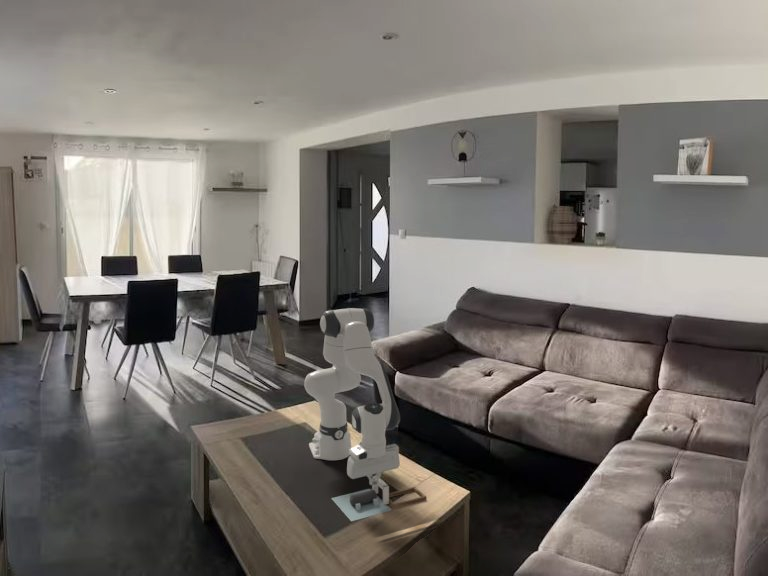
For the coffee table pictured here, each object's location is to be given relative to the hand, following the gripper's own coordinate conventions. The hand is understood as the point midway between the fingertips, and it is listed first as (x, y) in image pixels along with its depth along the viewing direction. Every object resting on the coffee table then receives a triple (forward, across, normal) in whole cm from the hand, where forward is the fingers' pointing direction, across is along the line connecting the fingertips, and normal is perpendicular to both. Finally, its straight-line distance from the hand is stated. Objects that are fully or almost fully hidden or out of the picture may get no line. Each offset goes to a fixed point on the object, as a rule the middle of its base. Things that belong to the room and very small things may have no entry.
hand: (373, 483), depth 218 cm
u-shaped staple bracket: (+6, -3, 0) cm, 7 cm away
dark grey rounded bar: (+6, +4, 0) cm, 8 cm away
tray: (+7, -11, +4) cm, 14 cm away
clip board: (+7, +5, 0) cm, 9 cm away
